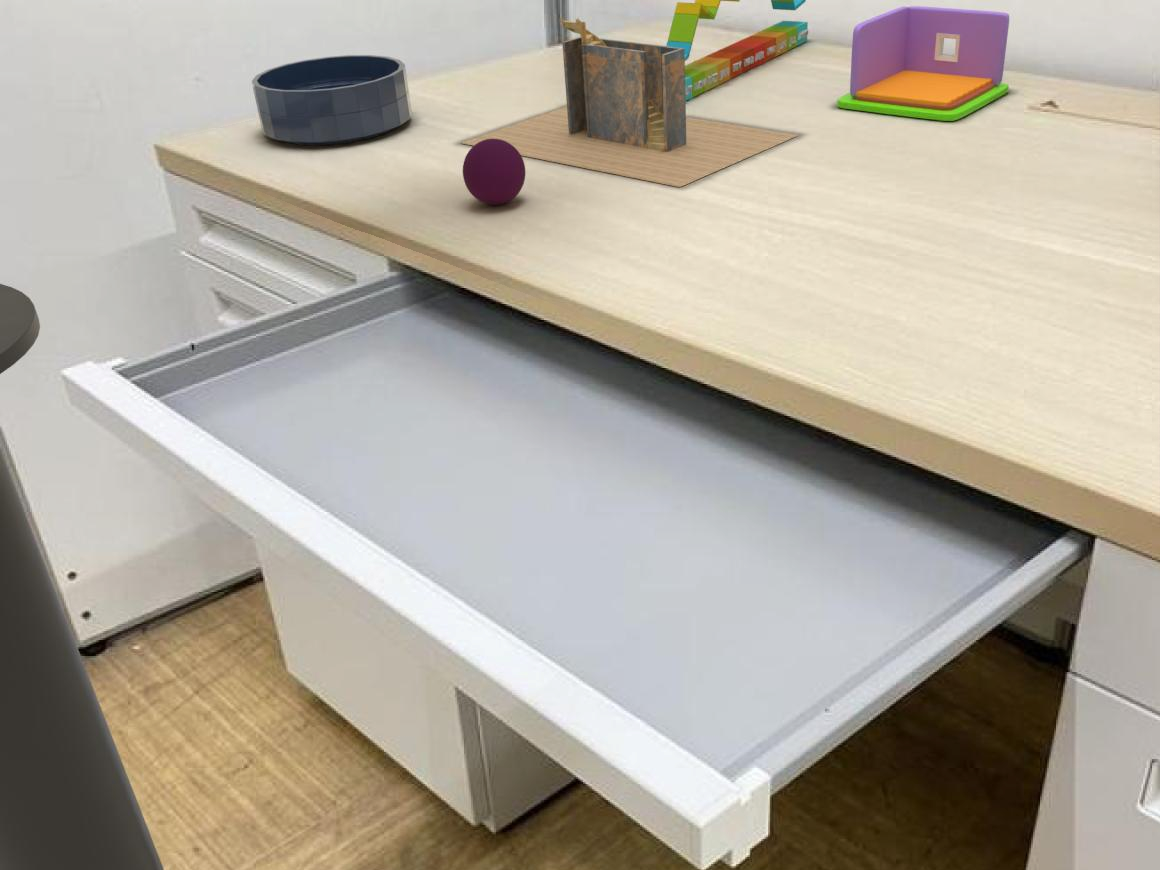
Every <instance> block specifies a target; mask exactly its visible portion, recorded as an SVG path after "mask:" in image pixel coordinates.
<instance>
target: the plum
mask: <svg viewBox="0 0 1160 870" xmlns="http://www.w3.org/2000/svg"><path fill="white" fill-rule="evenodd" d="M462 164H463V165H462V177H463V181H464V184H465V186H466V188H467V190H468V192H469V193H470V194H471V195H472V196H473V197H474V199H476V200H477V201H480V202H481V203H483V204H485V205H490V206H499V205H503V204H507V203H509V202H511V201H512V200H513V199H515V198H516V197H517V196H518V195H519V194H520V192H521V191H522V189H523V187H524V184H525V181H526V165H525V161H524V159H523V156H522V155H520V153H519V152H518V151H517V149H516V148H515V147H514V146H512V145H511V144H510V143H508V142H506V141H503V140H500V139H486V140H483V141H481V142H479V143H477V144H476V145H474V146H472V147H471V148H470V149H469V151H468V152H467V154H466V155H465V157H464V160H463V163H462Z"/></svg>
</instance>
